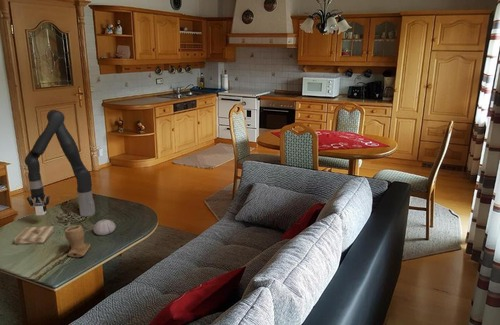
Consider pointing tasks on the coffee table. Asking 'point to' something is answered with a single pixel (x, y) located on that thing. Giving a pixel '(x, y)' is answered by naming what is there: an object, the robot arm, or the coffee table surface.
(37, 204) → the connector plug
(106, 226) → the sea urchin shell
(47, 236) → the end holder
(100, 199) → the coffee table surface
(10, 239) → the coffee table surface
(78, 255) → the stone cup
